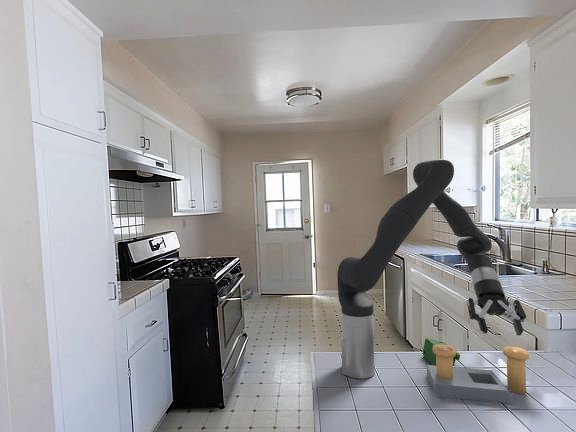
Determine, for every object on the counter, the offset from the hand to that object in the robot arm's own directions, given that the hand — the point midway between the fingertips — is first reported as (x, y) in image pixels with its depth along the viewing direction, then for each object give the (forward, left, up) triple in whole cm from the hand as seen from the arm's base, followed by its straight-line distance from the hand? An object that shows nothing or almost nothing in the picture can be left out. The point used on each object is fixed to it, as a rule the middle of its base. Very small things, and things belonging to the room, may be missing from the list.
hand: (502, 333), depth 92 cm
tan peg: (0, -8, -12) cm, 14 cm away
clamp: (-15, +5, -12) cm, 20 cm away
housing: (-13, -10, -12) cm, 20 cm away
